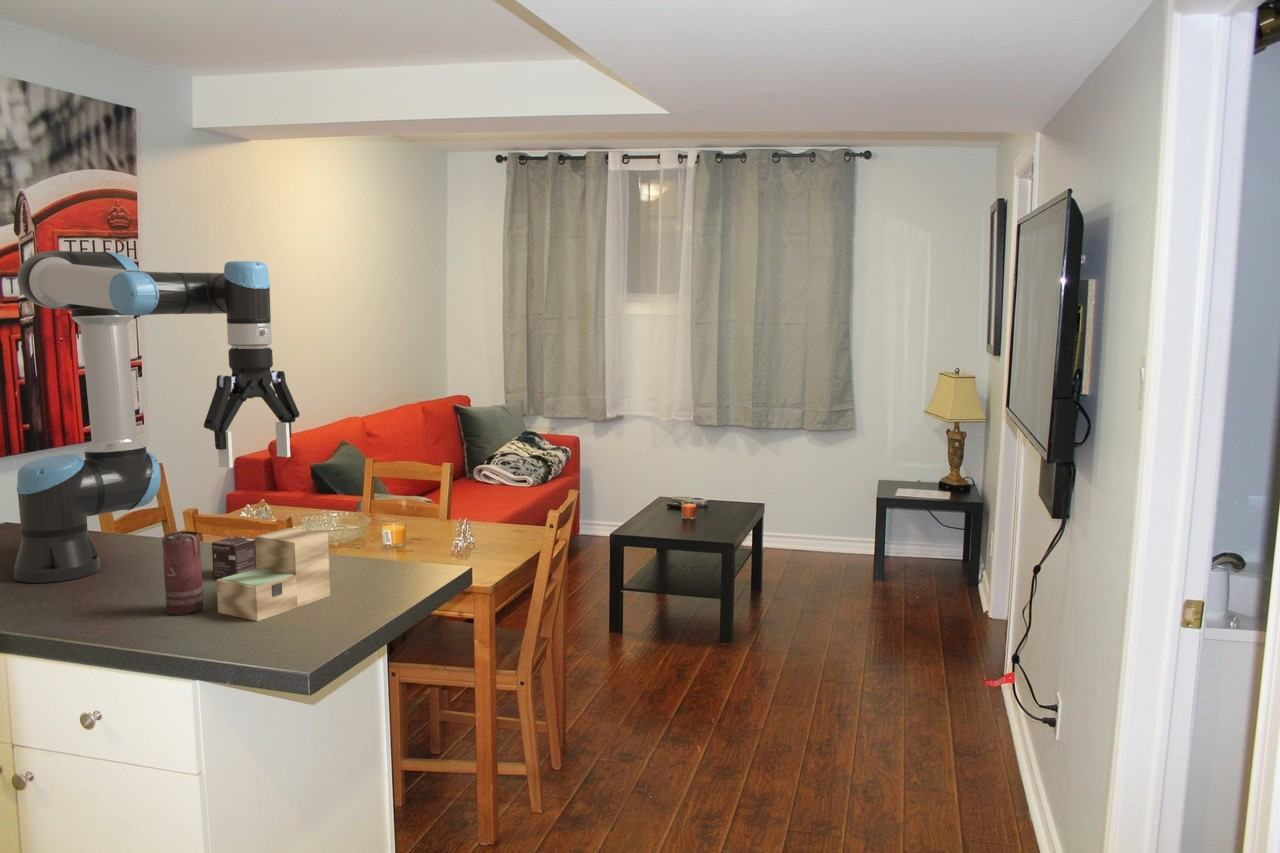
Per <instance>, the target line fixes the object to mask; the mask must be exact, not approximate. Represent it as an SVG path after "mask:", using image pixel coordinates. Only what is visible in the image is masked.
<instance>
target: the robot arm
mask: <svg viewBox="0 0 1280 853" xmlns="http://www.w3.org/2000/svg"><path fill="white" fill-rule="evenodd" d="M223 269H224V270H223V272H208V271H207V272H177V271H176V272H175V271H173V272H169V271H167V272H164V271H145V270H140V268H139V266H138V265H137V264H136V263H135V262H134V260H133V259H131V258H130V257H129V256H127V255H125V254H122V253H117V252H109V251H78V250H77V251H74V250H73V251H72V250H71V251H68V250H64V251H63V250H47V251H43V252H42V251H41V252H38V253H36V254H33V255H31V256H30V257H28V258H27V259H26V260H25V261H23V263H22V264H21V266H20V267H19V270H18V273H17V285H18V288H19V290H20V292H21V294H22V295H23V296H24V297H25V298H26V299H27V300H28V301H29V302H31V303H33V304H34V305H37V306H39V307H43V308H48V309H53V310H54V309H55V310H70V312H71V319H72V320H73V321H74V322H75V323H77V324H78V325H79V326H80V330H81V341H82V343H81V344H82V350H83V351H82V353H83V364H84V374H85V382H86V383H85V384H86V395H87V405H88V417H89V427H90V435H91V436H90V437H91V441H90V443H89V444H88V445H87V446H86V447H85V449H84V459H83V457H82V456H81V455H79V454H75V453H74V454H72V453H70V454H69V453H68V454H60V455H51V456H47V457H43V458H39V459H35V460H33V461H29V462H28V463H25V464H24V465H23V466H21V467H20V468H19V469H18V471H17V482H16V483H17V484H16V492H17V499H18V500H17V501H18V509H19V510H18V511H19V519H20V520H19V521H20V531H21V532H20V534H21V541H20V545H19V548H18V552H17V555H16V558H15V562H14V566H13V573H14V576H13V577H14V579H15V581H18V582H22V583H31V584H34V583H37V584H38V583H39V584H40V583H41V584H42V583H54V582H64V581H69V580H70V581H71V580H75V579H79V578H83V577H87V576H90V575H93V574H94V573H96V572H98V571H99V570H100V569H101V564H100V562H101V561H100V557H99V555H98V552H97V550H96V546H95V545H94V543H93V541H92V538H91V536H90V534H89V530H88V517H92V516H98V515H99V516H100V515H105V514H109V513H113V512H118V511H119V512H120V511H130V510H133V509H136V508H139V507H144V506H147V505H148V504H150V503H152V501H153V500H154V499H155V497H156V496H157V495H158V492H159V489H160V488H161V487H160V486H161V481H162V480H161V479H162V474H161V473H162V472H161V466H160V463H158V459H157V457H156V456H155V455H154V454H153V453H151V452H149V451H147V445H146V444H145V443H144V442H143V441H141V439H139V438H138V432H137V422H136V409H135V397H134V388H133V375H132V374H133V373H132V367H131V366H132V365H131V352H130V344H129V341H130V340H129V332H128V330H129V329H128V324H129V323H131V321H132V320H133V318H135V316H142V317H143V316H145V315H146V316H151V315H152V316H153V315H213V314H216V315H217V314H219V315H220V314H221V315H223V314H226V333H227V345H228V346H231V347H230V348H229V349H228V350H227V351H228V365H229V366H228V367H229V368H230V369H231V375H224V374H223V375H222V374H221V375H220V374H219V375H217V377H216V387H215V390H214V393H213V396H212V400H211V403H210V405H209V408H208V411H207V413H206V417H205V420H204V422H203V428H204V429H207V430H210V431H212V432H214V433H213V434H214V447H215V449H216V450H217V454H218V467H219V468H226V469H232V468H234V460H233V458H234V457H233V441H232V440H233V439H232V431H230V430H228V429H229V427H230V425H231V424H232V422H233V420H234V419H235V417H236V415H237V413H238V412H239V410H240V408H241V406H242V405H243V403H244V402H246V401H247V399H254V398H261V399H262V400H263V401H264V402H265V404H266V405H267V407H269V409H270V411H272V413H273V414H274V416H275V417H276V418H277V420H278V421H277V422H275V438H276V440H275V442H276V444H275V445H276V457H282V458H291V445H290V444H291V441H290V440H291V439H292V423H295V422H296V418H299V417H300V411H299V409H298V407H297V404H296V403H295V400H294V397H293V396H292V393H291V392H290V389H289V386H288V384H287V381H286V373H285V371H283V370H271V368H272V367H273V366H274V362H273V360H274V359H273V349H272V348H271V347H269V346H270V345H272V343H273V342H272V323H271V317H272V316H271V290H270V289H271V288H270V287H271V283H270V278H269V268H268V265H267V264H266V263H265V262H262V261H251V260H250V261H248V260H247V261H245V260H243V261H241V260H236V261H234V260H233V261H226V263H224V268H223ZM271 384H272V385H271Z"/></svg>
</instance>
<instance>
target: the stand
mask: <svg viewBox="0 0 1280 853" xmlns="http://www.w3.org/2000/svg"><path fill="white" fill-rule="evenodd" d="M255 540H256V564H257V568H255V569H252V570H248V571H245V572H241V573H238V574H234V575H231V576H228V577H224V578H221V579H218V578H216V595H217V596H216V597H217V613H219V614H223V615H227V616H232V617H236V618H242V619H246V620H250V621H256V622H259V621H262V620H264V619H265V620H266V619H268V618H271V617H275V616H277V615H280V614H283V613H285V612H288V611H291V610H294V609H297V608H300V607H303V606H306V605H308V604H311V603H314V602H317V601H320V600H323V599H326V598H329V597H331V579H330V578H331V577H330V574H331V573H330V556H329V554H330V552H329V533H327V532H321V531H315V530H308V529H300V528H294V527H287V528H282V529H278V530H274V531H270V532H267V533H264V534H263V533H262V534H259V535H256V536H255Z"/></svg>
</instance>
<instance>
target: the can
mask: <svg viewBox="0 0 1280 853" xmlns="http://www.w3.org/2000/svg"><path fill="white" fill-rule="evenodd" d="M201 554H202V552H201V538H200V536H199V534H198V532H197V531H189V530H188V531H187V530H185V531H176V532H170V533H167V534H164V535H163V539H162V558H163V561H162V562H163V573H164V574H163V576H164V588H165V589H164V591H165V607H166V611H167V613H168V614H170V616H171V615H172V616H188V615H194V614H196V613H199V612H201V611H202V609H203V608H204V590H203V572H202V559H201V558H202V557H201V556H202V555H201Z"/></svg>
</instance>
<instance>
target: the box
mask: <svg viewBox="0 0 1280 853" xmlns="http://www.w3.org/2000/svg"><path fill="white" fill-rule="evenodd" d="M211 556H212V576H213V577H212V578H215V579H221V578H224V577H228V576H231V575H234V574H238V573H241V572H245V571H248V570H252V569H255V568H257V552H256V538H247V537H243V536H242V537H241V536H234V535H233V536H230V537H226V538H222V539H219V540H216V541H212V542H211Z"/></svg>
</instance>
